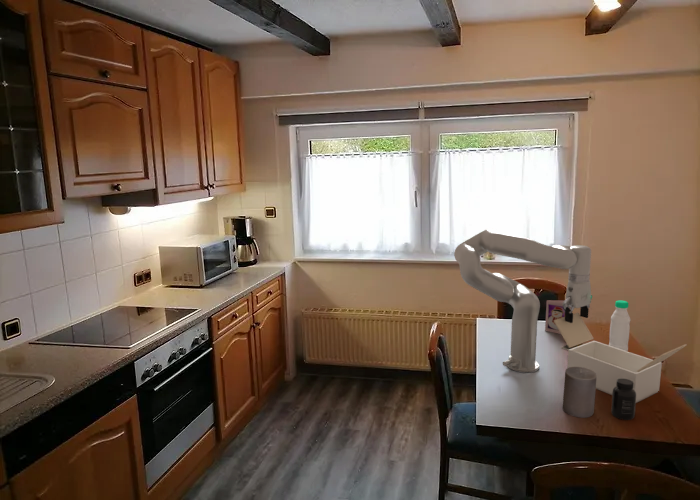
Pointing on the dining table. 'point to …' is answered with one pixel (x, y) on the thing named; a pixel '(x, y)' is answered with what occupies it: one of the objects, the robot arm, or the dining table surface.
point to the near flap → (662, 357)
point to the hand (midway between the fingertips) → (576, 319)
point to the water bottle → (620, 326)
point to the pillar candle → (579, 392)
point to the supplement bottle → (623, 400)
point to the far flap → (573, 330)
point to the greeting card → (553, 314)
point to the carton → (616, 368)
